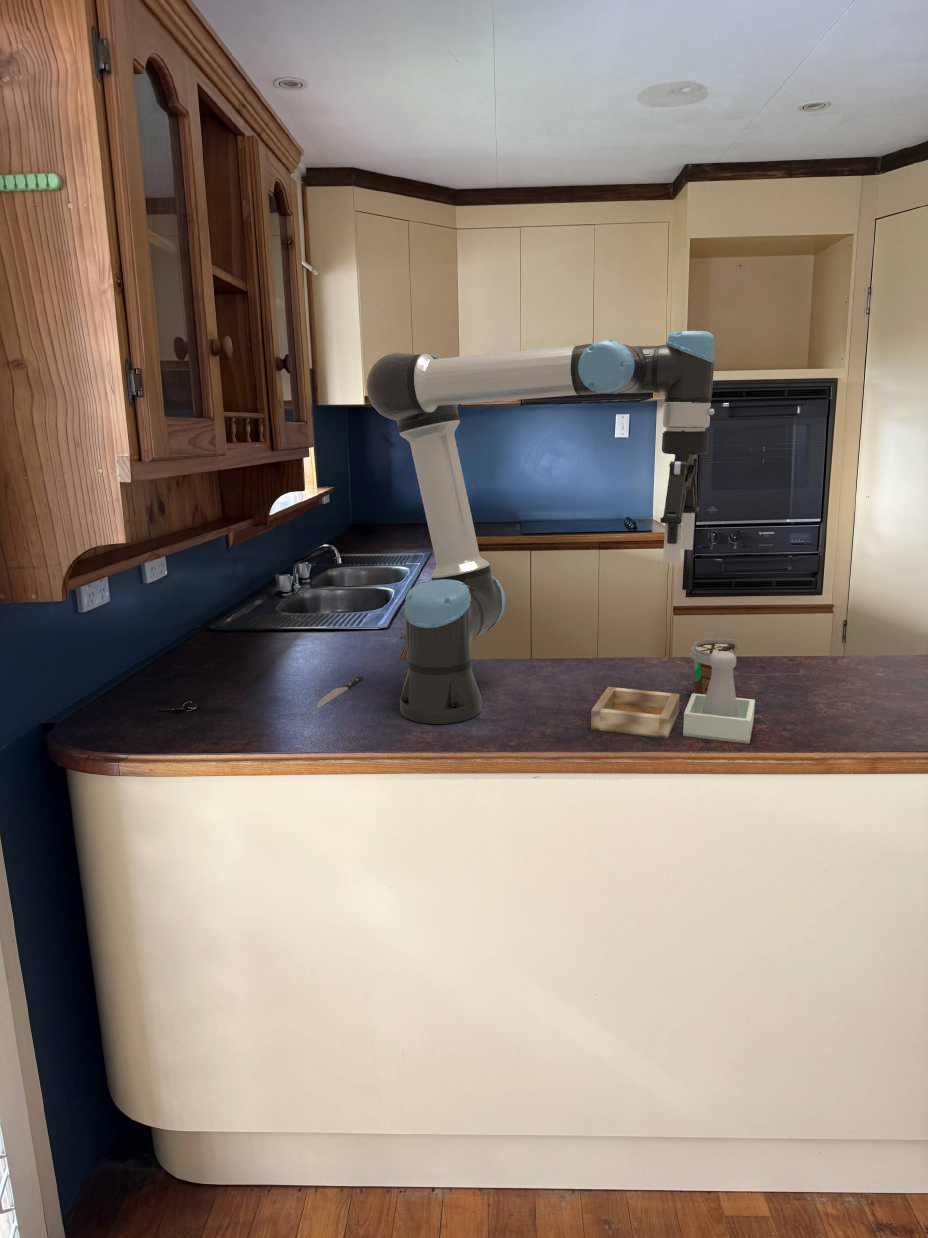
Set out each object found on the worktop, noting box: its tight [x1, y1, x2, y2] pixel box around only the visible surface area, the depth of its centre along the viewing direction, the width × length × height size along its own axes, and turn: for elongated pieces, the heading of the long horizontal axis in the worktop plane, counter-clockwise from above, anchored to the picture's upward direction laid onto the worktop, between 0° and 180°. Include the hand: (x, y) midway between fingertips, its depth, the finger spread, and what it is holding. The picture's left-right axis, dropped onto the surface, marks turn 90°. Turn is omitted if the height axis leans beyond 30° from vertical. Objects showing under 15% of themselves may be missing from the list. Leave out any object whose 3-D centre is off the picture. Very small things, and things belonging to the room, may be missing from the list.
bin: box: [682, 692, 756, 745], centre depth 143 cm, size 11×11×4 cm
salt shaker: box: [702, 651, 738, 718], centre depth 141 cm, size 6×6×13 cm
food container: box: [689, 638, 738, 695], centre depth 158 cm, size 12×6×10 cm, turn 141°
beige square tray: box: [590, 686, 681, 740], centre depth 147 cm, size 13×13×4 cm
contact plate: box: [612, 703, 663, 715], centre depth 147 cm, size 9×9×1 cm
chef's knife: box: [316, 676, 364, 709], centre depth 165 cm, size 19×1×3 cm
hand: (678, 555), depth 144 cm, fingers open, 13 cm apart
